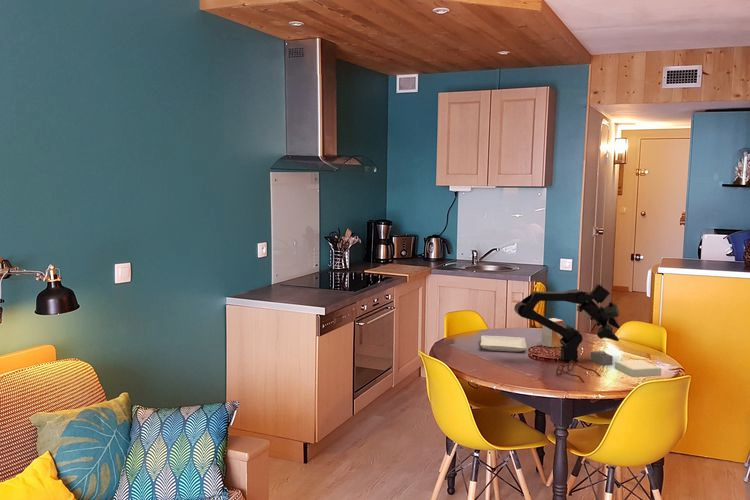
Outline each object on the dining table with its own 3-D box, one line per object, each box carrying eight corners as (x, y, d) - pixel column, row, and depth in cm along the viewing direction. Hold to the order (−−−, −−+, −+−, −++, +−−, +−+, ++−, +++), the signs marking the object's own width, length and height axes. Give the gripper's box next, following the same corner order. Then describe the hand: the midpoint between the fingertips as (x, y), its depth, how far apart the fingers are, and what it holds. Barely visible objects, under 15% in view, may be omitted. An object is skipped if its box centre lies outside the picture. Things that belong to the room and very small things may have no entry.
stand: (632, 376, 265) (633, 369, 264) (614, 367, 277) (614, 361, 277) (661, 375, 267) (661, 368, 267) (641, 366, 280) (642, 359, 280)
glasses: (572, 370, 274) (572, 359, 274) (601, 377, 265) (601, 365, 264) (555, 376, 266) (555, 364, 265) (584, 384, 256) (584, 371, 256)
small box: (551, 348, 309) (552, 321, 308) (541, 346, 314) (542, 319, 313) (562, 346, 313) (563, 319, 312) (552, 343, 319) (553, 317, 317)
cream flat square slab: (524, 343, 320) (524, 336, 320) (526, 354, 300) (527, 347, 299) (480, 341, 324) (481, 334, 324) (480, 352, 303) (480, 344, 303)
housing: (602, 365, 281) (602, 354, 281) (590, 360, 290) (590, 349, 290) (612, 365, 283) (612, 354, 282) (600, 359, 291) (600, 349, 291)
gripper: (607, 314, 274) (633, 338, 276) (609, 289, 289) (634, 312, 291) (586, 327, 281) (612, 350, 283) (589, 302, 296) (614, 325, 298)
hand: (618, 334), depth 288 cm, fingers open, 9 cm apart
